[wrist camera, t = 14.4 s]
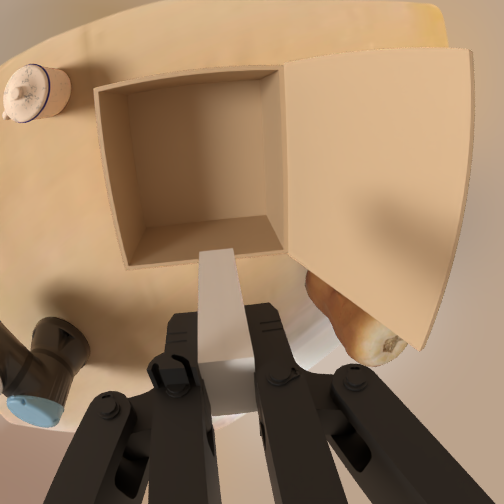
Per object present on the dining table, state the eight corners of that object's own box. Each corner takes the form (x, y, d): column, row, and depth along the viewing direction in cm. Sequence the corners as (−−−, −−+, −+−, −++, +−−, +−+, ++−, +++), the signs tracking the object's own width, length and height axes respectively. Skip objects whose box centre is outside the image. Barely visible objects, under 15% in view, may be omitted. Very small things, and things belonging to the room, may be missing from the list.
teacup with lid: (64, 58, 35) (30, 50, 25) (80, 101, 39) (47, 102, 29) (14, 95, 35) (-24, 98, 25) (28, 136, 39) (-9, 147, 29)
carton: (269, 216, 53) (288, 253, 41) (143, 230, 51) (125, 270, 39) (263, 76, 42) (283, 65, 30) (124, 92, 40) (93, 88, 28)
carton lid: (288, 255, 41) (293, 253, 41) (419, 351, 23) (424, 347, 24) (283, 62, 29) (289, 63, 30) (468, 48, 12) (472, 52, 12)
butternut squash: (372, 246, 59) (443, 322, 37) (339, 299, 64) (391, 385, 42) (317, 222, 55) (383, 302, 33) (284, 281, 60) (324, 379, 37)
